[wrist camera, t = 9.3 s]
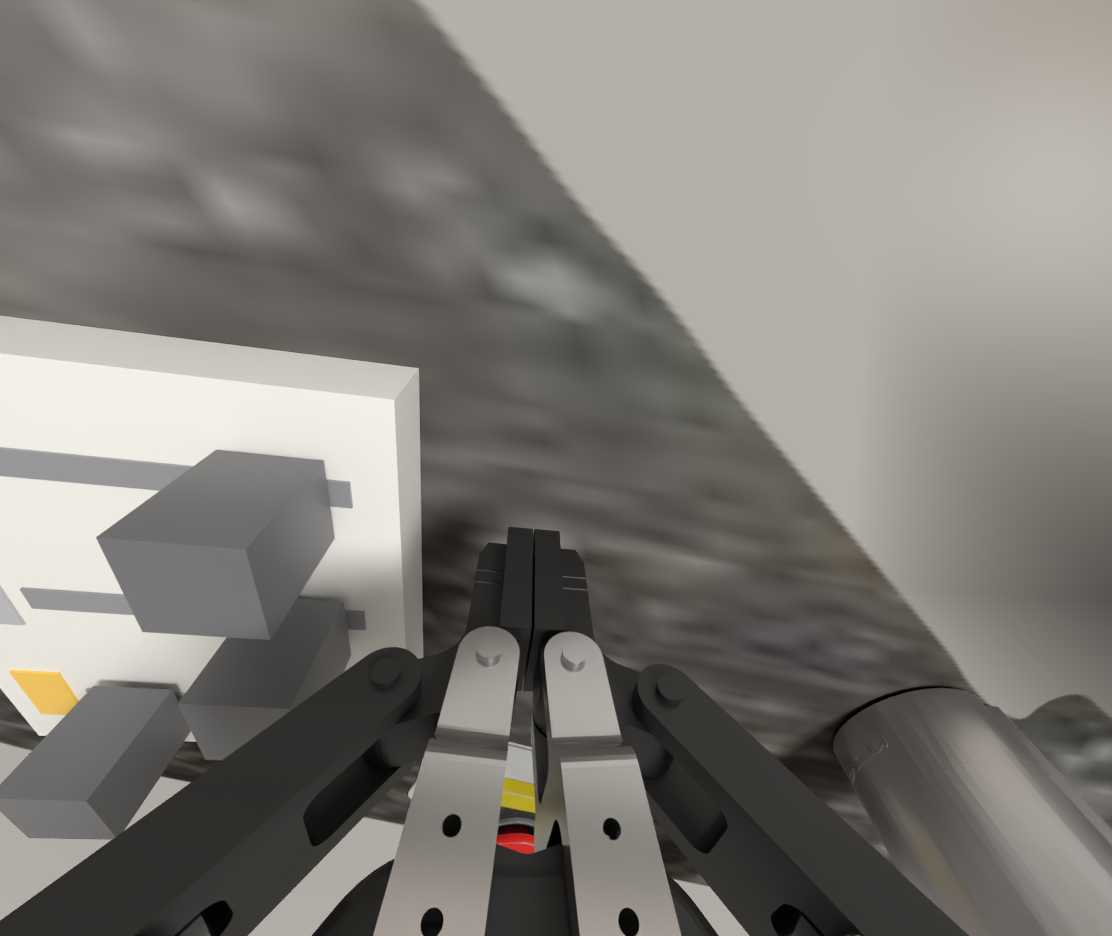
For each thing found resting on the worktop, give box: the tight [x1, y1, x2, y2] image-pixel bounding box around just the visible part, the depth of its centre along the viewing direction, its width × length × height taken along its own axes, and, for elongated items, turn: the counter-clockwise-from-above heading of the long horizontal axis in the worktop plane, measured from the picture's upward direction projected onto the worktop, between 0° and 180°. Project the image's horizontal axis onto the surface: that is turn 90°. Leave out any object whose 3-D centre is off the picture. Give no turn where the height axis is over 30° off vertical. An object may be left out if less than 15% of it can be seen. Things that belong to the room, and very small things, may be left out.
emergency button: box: [408, 742, 535, 854], centre depth 29 cm, size 9×4×15 cm
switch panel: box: [0, 316, 423, 742], centre depth 18 cm, size 17×19×3 cm
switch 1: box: [0, 686, 191, 839], centre depth 17 cm, size 3×3×4 cm
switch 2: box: [96, 449, 335, 640], centre depth 12 cm, size 3×3×4 cm
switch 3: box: [178, 599, 351, 760], centre depth 15 cm, size 3×3×4 cm
